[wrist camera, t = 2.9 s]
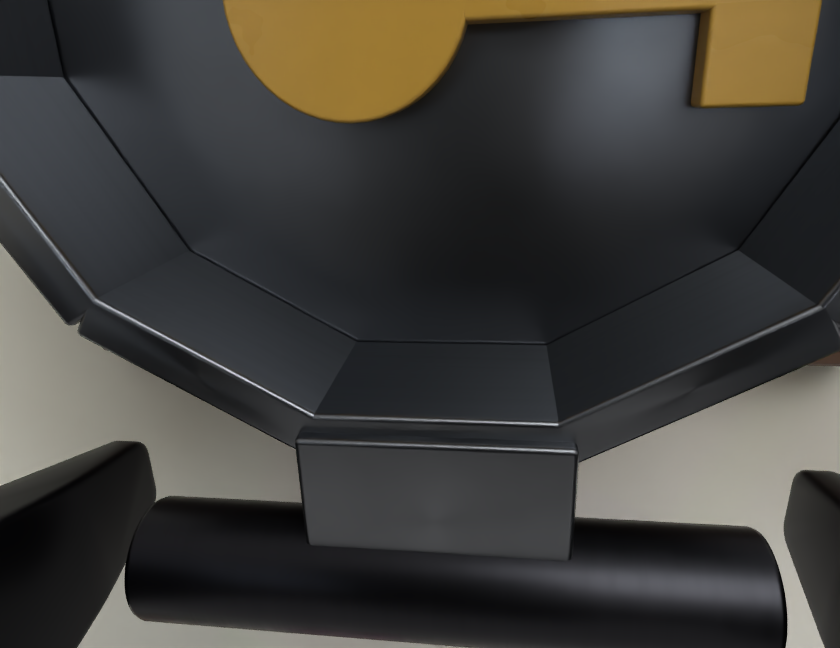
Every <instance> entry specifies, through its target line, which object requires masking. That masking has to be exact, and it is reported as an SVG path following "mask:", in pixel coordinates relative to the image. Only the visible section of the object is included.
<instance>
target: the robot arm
mask: <svg viewBox="0 0 840 648" xmlns="http://www.w3.org/2000/svg"><path fill="white" fill-rule="evenodd" d="M155 499H156V486H155V481H154V477H153V472H152V467H151V462H150V458H149V453H148V450H147V448H146V446H145V445H144V444H143V443H141V442H135V441H114V442H111V443H108V444H106V445H103V446H101V447H98V448H96V449H93V450H91V451H88V452H86V453H83V454H80V455H78V456H75V457H73V458H70V459H68V460H65V461H63V462H60V463H58V464H55V465H53V466H50V467H48V468H45V469H42V470H40V471H37V472H35V473H32V474H30V475H27V476H25V477H22V478H20V479H17V480H15V481H12V482H9V483H7V484H4V485H2V486H0V648H77V647H78V646H79V644H80V642H81V641H82V639H83V638H84V636H85V634H86V633H87V631H88V629H89V628H90V626H91V625H92V623H93V621H94V620H95V618H96V617H97V615H98V613H99V612H100V610H101V608H102V607H103V605H104V603H105V602H106V600H107V598H108V596H109V594H110V592H111V591H112V589H113V587H114V585H115V583H116V581H117V579H118V577H119V575H120V573H121V571H122V569H123V567H124V565H125V563H126V559H127V555H128V550H129V547H130V543H131V540H132V537H133V535H134V532H135V530H136V528H137V526H138V524H139V522H140V520H141V518H142V517H143V515H144V514H145V512H146V511H147V510H148V509H149V508H150V506H151V505H152V504H154V503H155ZM784 536H785V541H786V544H787V547H788V549H789V552H790V555H791V558H792V560H793V563H794V566H795V568H796V571H797V574H798V577H799V579H800V582H801V585H802V588H803V590H804V593H805V596H806V599H807V601H808V604H809V607H810V609H811V612H812V615H813V618H814V620H815V623H816V626H817V629H818V631H819V634H820V637H821V639H822V642H823V644H824V647H825V648H840V474H838V473H835V472H831V471H815V470H802V471H800V472H798V473H797V474H796V475H795V477H794V479H793V482H792V487H791V491H790V496H789V501H788V506H787V510H786V515H785V520H784Z"/></svg>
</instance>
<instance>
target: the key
mask: <svg viewBox="0 0 840 648" xmlns="http://www.w3.org/2000/svg"><path fill="white" fill-rule="evenodd" d="M821 4H822V0H223V6H224V11H225V16H226V19H227V22H228V26H229V29H230V32H231V34H232V37H233V39H234V42H235V44H236V46H237V48H238V50H239V52H240V54H241V55H242V57H243V59H244V61H245V63H246V64H247V65H248V67H249V68H250V70H251V71H252V72H253V74H254V75H255V76H256V78H257V79H258V80H259V81H260V82H261V83H262V84H263V85H264V86H265V87H266V88H267V89H268V90H269V91H270V92H271V93H272V94H273V95H275V96H276V97H277V98H278V99H279V100H281V101H282V102H284V103H285V104H287V105H289V106H290V107H292V108H293V109H295V110H297V111H299V112H301V113H303V114H306V115H308V116H311V117H314V118H317V119H320V120H324V121H330V122H335V123H362V122H369V121H373V120H377V119H381V118H385V117H388V116H391V115H393V114H396V113H398V112H401V111H403V110H404V109H406V108H408V107H410V106H411V105H413V104H415V103H416V102H417V101H419V100H420V99H421V98H423V97H424V96H425V95H426V94H427V93H428V92H429V91H430V90H431V89H432V88H433V87H434V86H435V85H436V84H437V83H438V82H439V81H440V80H441V78H442V77H443V76H444V74H445V73H446V72H447V71H448V69H449V67H450V66H451V64H452V62H453V60H454V59H455V57H456V55H457V53H458V51H459V48H460V46H461V44H462V41H463V39H464V35H465V32H466V29H467V25H468V24H488V23H509V22H530V21H550V20H571V19H592V18H613V17H634V16H655V15H675V14H696V13H701V17H700V26H699V34H698V43H697V52H696V61H695V70H694V78H693V87H692V96H691V105H692V106H693V107H695V108H734V107H769V106H799V105H801V104H803V103H804V101H805V96H806V91H807V85H808V79H809V73H810V68H811V62H812V56H813V50H814V45H815V39H816V33H817V27H818V22H819V16H820V10H821Z"/></svg>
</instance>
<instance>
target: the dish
mask: <svg viewBox="0 0 840 648" xmlns="http://www.w3.org/2000/svg"><path fill="white" fill-rule="evenodd" d="M700 17H701V13H696V14H675V15H655V16H634V17H613V18H592V19H571V20H550V21H530V22H509V23H488V24H468V25H467V29H466V32H465V35H464V39H463V41H462V44H461V46H460V48H459V51H458V53H457V55H456V57H455V59H454V60H453V62H452V64H451V66H450V67H449V69H448V71H447V72H446V73H445V74H444V76H443V77H442V78H441V80H440V81H439V82H438V83H437V84H436V85H435V86H434V87H433V88H432V89H431V90H430V91H429V92H428V93H427V94H426V95H425V96H424V97H423V98H421V99H420V100H419V101H417V102H416V103H415V104H413V105H411V106H410V107H408V108H406V109H404V110H403V111H401V112H398V113H396V114H393V115H391V116H388V117H385V118H381V119H377V120H373V121H369V122H362V123H335V122H330V121H324V120H320V119H317V118H314V117H311V116H308V115H306V114H303V113H301V112H299V111H297V110H295V109H293V108H292V107H290V106H289V105H287V104H285V103H284V102H282V101H281V100H279V99H278V98H277V97H276V96H275V95H273V94H272V93H271V92H270V91H269V90H268V89H267V88H266V87H265V86H264V85H263V84H262V83H261V82H260V81H259V80H258V79H257V78H256V76H255V75H254V74H253V72H252V71H251V70H250V68H249V67H248V65H247V64H246V63H245V61H244V59H243V57H242V55H241V54H240V52H239V50H238V48H237V46H236V44H235V42H234V39H233V37H232V34H231V32H230V29H229V26H228V22H227V19H226V16H225V11H224V6H223V0H0V243H1V244H2V246H3V247H4V248H5V249H6V250H7V252H8V253H9V254H10V255H11V257H12V258H13V259H14V260H15V262H16V263H17V264H18V265H19V267H20V268H21V269H22V270H23V272H24V273H25V274H26V275H27V277H28V278H29V279H30V280H31V282H32V283H33V284H34V285H35V286H36V288H37V289H38V290H39V291H40V293H41V294H42V295H43V296H44V298H45V299H46V300H47V301H48V303H49V304H50V305H51V306H52V308H53V309H54V310H55V311H56V313H57V314H58V315H59V316H60V317H61V319H62V320H63V321H64V322H65V324H67V325H76V324H78V323H79V322H80V324H79V327H78V334H79V335H80V336H82V337H83V338H85V339H87V340H89V341H91V342H93V343H95V344H97V345H99V346H101V347H102V348H104V349H106V350H108V351H110V352H112V353H114V354H116V355H118V356H120V357H121V358H123V359H125V360H127V361H129V362H131V363H133V364H135V365H137V366H138V367H140V368H142V369H144V370H146V371H148V372H150V373H152V374H154V375H156V376H157V377H159V378H161V379H163V380H165V381H167V382H169V383H171V384H173V385H175V386H176V387H178V388H180V389H182V390H184V391H186V392H188V393H190V394H192V395H193V396H195V397H197V398H199V399H201V400H203V401H205V402H207V403H209V404H211V405H212V406H214V407H216V408H218V409H220V410H222V411H224V412H226V413H228V414H230V415H231V416H233V417H235V418H237V419H239V420H241V421H243V422H245V423H247V424H248V425H250V426H252V427H254V428H256V429H258V430H260V431H262V432H264V433H266V434H267V435H269V436H271V437H273V438H275V439H277V440H279V441H281V442H283V443H285V444H286V445H288V446H290V447H292V448H294V449H296V456H297V465H298V473H299V482H300V490H301V499H302V503H297V502H279V501H260V500H241V499H222V498H203V497H185V496H168V497H165V498H162V499H160V500H158V501H156V502H155V503H154V504H152V505H151V506H150V508H149V509H148V510H147V511H146V512H145V514H144V515H143V517H142V518H141V520H140V522H139V524H138V526H137V528H136V530H135V532H134V535H133V537H132V540H131V543H130V547H129V550H128V555H127V559H126V566H125V594H126V599H127V602H128V605H129V607H130V609H131V611H132V612H133V614H134V615H136V616H137V617H138V618H140V619H141V620H144V621H151V622H163V623H175V624H188V625H200V626H212V627H224V628H237V629H249V630H261V631H274V632H286V633H298V634H310V635H323V636H335V637H347V638H360V639H372V640H384V641H396V642H409V643H421V644H433V645H445V646H458V647H470V648H785V647H786V640H787V607H786V598H785V592H784V587H783V582H782V578H781V574H780V571H779V567H778V564H777V562H776V559H775V556H774V554H773V552H772V550H771V548H770V546H769V544H768V542H767V541H766V539H765V538H764V537H763V536H762V534H760V533H759V532H758V531H756V530H755V529H752V528H750V527H747V526H729V525H711V524H692V523H673V522H654V521H635V520H617V519H598V518H579V517H575V509H576V494H577V479H578V464H579V462H582V461H584V460H586V459H589V458H591V457H593V456H596V455H598V454H600V453H603V452H605V451H607V450H610V449H612V448H614V447H617V446H619V445H622V444H624V443H626V442H629V441H631V440H633V439H636V438H638V437H640V436H643V435H645V434H647V433H650V432H652V431H654V430H657V429H659V428H661V427H664V426H666V425H668V424H671V423H673V422H675V421H678V420H680V419H682V418H685V417H687V416H689V415H692V414H694V413H696V412H699V411H701V410H703V409H706V408H708V407H710V406H713V405H715V404H717V403H720V402H722V401H724V400H727V399H729V398H731V397H734V396H736V395H738V394H741V393H743V392H745V391H748V390H750V389H752V388H755V387H757V386H759V385H762V384H764V383H766V382H769V381H771V380H773V379H776V378H778V377H780V376H783V375H785V374H787V373H790V372H792V371H794V370H797V369H799V368H802V367H804V366H806V365H809V364H811V363H813V362H816V361H818V360H820V359H823V358H825V357H827V356H830V355H832V354H834V353H837V352H839V351H840V0H822V4H821V10H820V16H819V22H818V27H817V33H816V39H815V45H814V50H813V56H812V62H811V68H810V73H809V79H808V85H807V91H806V96H805V101H804V103H803V104H801V105H799V106H769V107H734V108H695V107H693V106H692V105H691V96H692V87H693V78H694V70H695V61H696V52H697V43H698V34H699V26H700Z"/></svg>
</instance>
